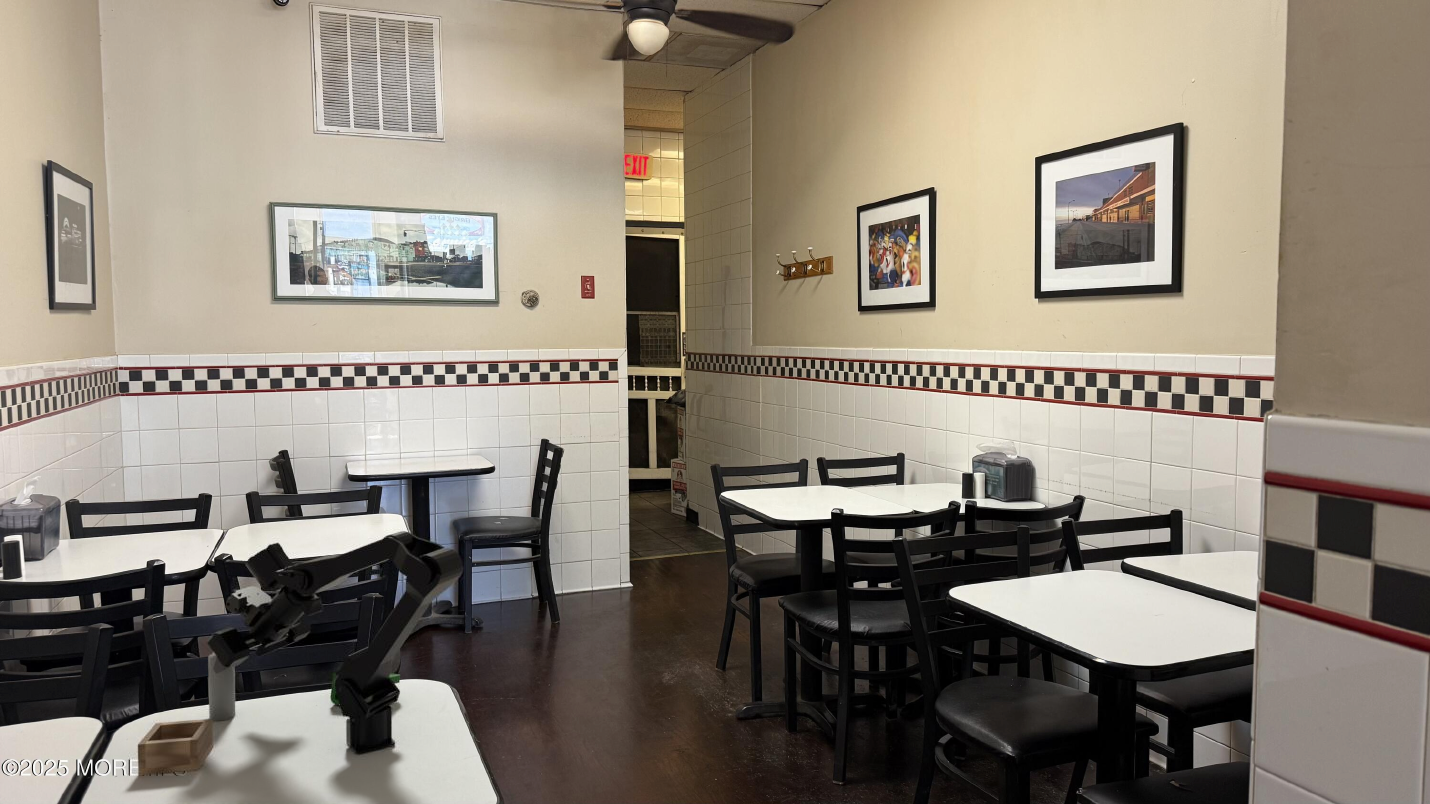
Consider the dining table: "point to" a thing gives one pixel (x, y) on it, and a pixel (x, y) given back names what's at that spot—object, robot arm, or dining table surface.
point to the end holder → (175, 747)
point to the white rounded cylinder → (221, 692)
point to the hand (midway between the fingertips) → (236, 662)
